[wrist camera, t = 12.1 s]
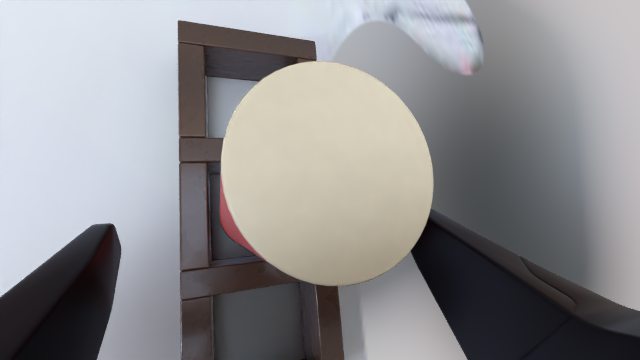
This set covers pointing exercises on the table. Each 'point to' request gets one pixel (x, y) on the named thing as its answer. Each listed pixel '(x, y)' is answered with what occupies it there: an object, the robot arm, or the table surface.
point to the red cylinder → (325, 174)
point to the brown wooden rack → (205, 158)
